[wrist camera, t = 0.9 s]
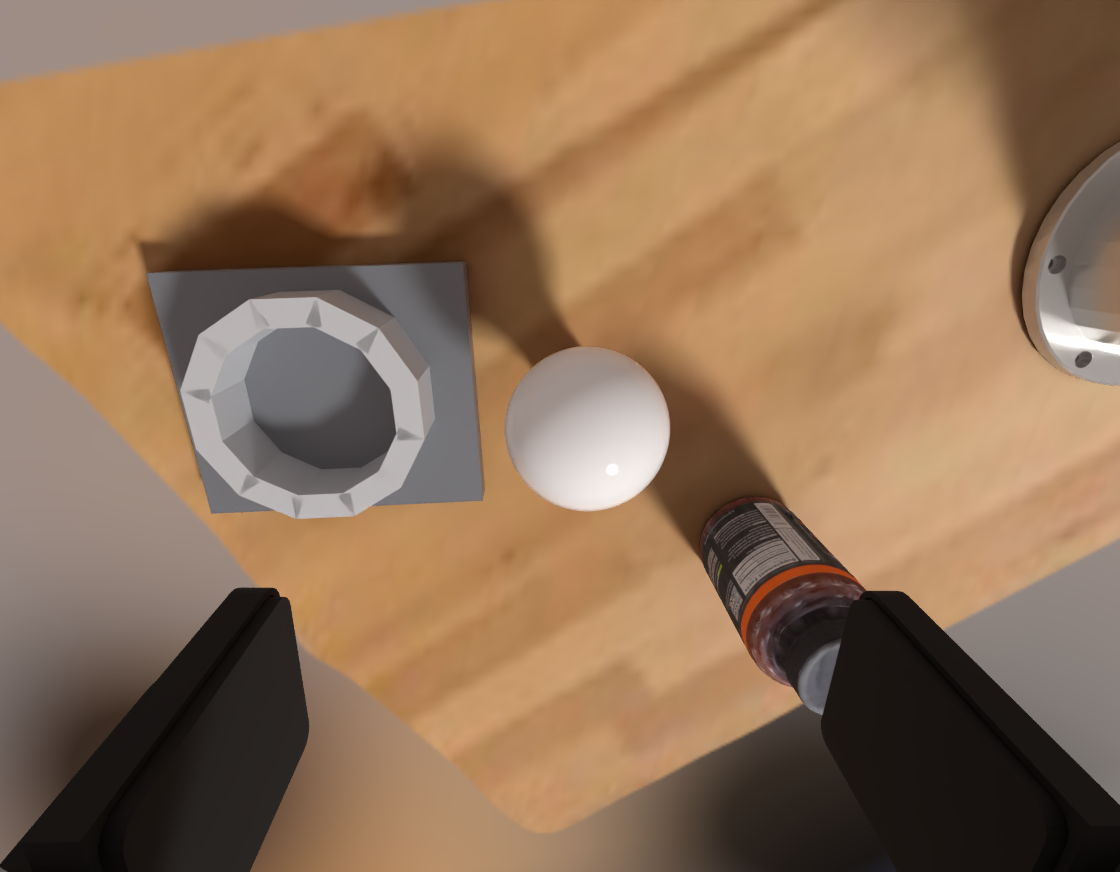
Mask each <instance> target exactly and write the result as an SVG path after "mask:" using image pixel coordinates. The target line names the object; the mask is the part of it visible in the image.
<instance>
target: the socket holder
mask: <svg viewBox="0 0 1120 872" xmlns="http://www.w3.org/2000/svg"><path fill="white" fill-rule="evenodd" d="M146 275H147V278H148V282H149V286H150V289H151V293H152V297H153V300H154V304H155V308H156V312H157V315H158V319H159V323H160V326H161V330H162V334H163V337H164V341H165V345H166V348H167V352H168V356H169V359H170V363H171V367H172V370H173V374H174V378H175V381H176V385H177V389H178V392H179V396H180V400H181V403H182V407H183V411H184V415H185V418H186V422H187V426H188V429H189V433H190V437H191V440H192V444H193V448H194V451H195V455H196V459H197V462H198V466H199V470H200V473H201V477H202V481H203V484H204V488H205V492H206V495H207V499H208V503H209V506H210V510H211V514H213V513H234V512H255V511H278V512H281V513H283V514H285V515H288V516H290V517H293V518H295V519H305V518H325V517H346V516H355V515H357V514H359V513H360V512H362V511H364V510H365V509H367V508H368V507H370V506H379V505H400V504H421V503H442V502H463V501H483V495H484V490H485V485H484V473H483V461H482V449H481V437H480V425H479V413H478V400H477V388H476V376H475V364H474V352H473V340H472V328H471V316H470V303H469V291H468V279H467V267H466V261H454V262H423V263H393V264H362V265H331V266H300V267H270V268H239V269H208V270H177V271H161V272H152V273H146Z"/></svg>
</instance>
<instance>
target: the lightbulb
mask: <svg viewBox="0 0 1120 872" xmlns="http://www.w3.org/2000/svg"><path fill="white" fill-rule="evenodd" d="M505 437H506V444H507V449H508V452H509V456H510V458H511V461H512V463H513V465H514V467H515V469H516V471H517V472H518V474H519V476H520V477H521V478H522V480H523V481H524V482H525V483H526V484H527V485H528V486H529V487H530V488H531V489H532V490H533V491H534V492H535V493H536V494H538V495H539V496H540V497H542V498H543V499H545V500H547V501H549V502H551V503H553V504H555V505H557V506H560V507H563V508H567V509H571V510H577V511H599V510H605V509H609V508H612V507H615V506H618V505H621V504H623V503H625V502H627V501H628V500H630V499H632V498H633V497H635V496H636V495H638V494H639V493H640V492H641V491H642V490H644V489H645V488H646V487H647V486H648V485H649V484H650V482H651V481H652V480H653V479H654V477H655V476H656V474H657V473H658V471H659V470H660V468H661V466H662V464H663V461H664V459H665V456H666V453H667V450H668V446H669V440H670V417H669V412H668V407H667V404H666V401H665V398H664V396H663V393H662V391H661V389H660V388H659V386H658V384H657V383H656V381H655V380H654V379H653V377H652V376H651V375H650V374H649V373H648V372H647V371H646V370H645V369H644V368H643V367H642V366H641V365H640V364H639V363H637V362H636V361H634V360H633V359H631V358H630V357H628V356H626V355H624V354H622V353H620V352H617V351H615V350H612V349H608V348H603V347H597V346H579V347H572V348H567V349H564V350H561V351H558V352H556V353H553V354H551V355H549V356H547V357H546V358H544V359H542V360H541V361H539V362H538V363H537V364H536V365H534V366H533V367H532V368H531V369H530V370H529V371H528V372H527V373H526V374H525V375H524V377H523V378H522V379H521V380H520V382H519V383H518V385H517V387H516V388H515V390H514V392H513V394H512V396H511V399H510V402H509V405H508V408H507V413H506V419H505Z"/></svg>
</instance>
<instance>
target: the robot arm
mask: <svg viewBox="0 0 1120 872" xmlns="http://www.w3.org/2000/svg"><path fill="white" fill-rule="evenodd" d="M1022 303H1023V315H1024V320H1025V323H1026V326H1027V330H1028V333H1029V336H1030V338H1031V340H1032V341H1033V343H1034V345H1035V346H1036V348H1037V350H1038V351H1039V353H1040V354H1041V355H1042V356H1043V357H1044V358H1045V359H1046V360H1047V361H1048V362H1049V363H1050V364H1051V365H1052V366H1053V367H1055V368H1057V369H1059V370H1060V371H1062V372H1064V373H1066V374H1067V375H1069V376H1073V377H1076V378H1079V379H1083V380H1086V381H1089V382H1092V383H1099V384H1105V385H1111V386H1120V142H1118V143H1117V144H1115V145H1113V146H1112V147H1110V148H1109V149H1107V150H1106V151H1104V152H1103V153H1101V154H1100V155H1099V156H1098V157H1097V158H1096V159H1095V160H1093V161H1092V162H1091V163H1090V164H1089V165H1088V166H1086V167H1085V168H1084V169H1083V170H1082V171H1081V172H1080V173H1079V174H1078V175H1077V176H1076V177H1075V178H1074V179H1073V181H1072V182H1071V183H1070V184H1069V185H1068V186H1067V187H1066V189H1065V190H1064V191H1063V192H1062V193H1061V194H1060V196H1059V197H1058V199H1057V200H1056V202H1055V203H1054V205H1053V206H1052V208H1051V209H1050V211H1049V212H1048V214H1047V216H1046V217H1045V219H1044V220H1043V222H1042V225H1041V227H1040V229H1039V231H1038V233H1037V235H1036V237H1035V240H1034V242H1033V244H1032V247H1031V250H1030V253H1029V257H1028V260H1027V264H1026V267H1025V271H1024V280H1023V289H1022ZM821 730H822V735H823V738H824V741H825V743H826V746H827V747H828V749H829V751H830V753H831V754H832V756H833V758H834V760H835V761H836V763H837V765H838V767H839V769H840V771H841V772H842V774H843V776H844V778H845V779H846V781H847V783H848V785H849V787H850V788H851V790H852V792H853V794H854V796H855V797H856V799H857V801H858V803H859V804H860V806H861V808H862V810H863V811H864V813H865V815H866V817H867V819H868V820H869V822H870V824H871V826H872V828H873V829H874V831H875V833H876V835H877V837H878V838H879V840H880V842H881V843H882V845H883V847H884V849H885V851H886V852H887V854H888V856H889V858H890V860H891V862H892V863H893V865H894V867H895V869H896V870H897V872H1120V805H1119V804H1118V803H1117V802H1116V801H1115V800H1114V799H1113V798H1112V797H1111V796H1110V795H1109V794H1108V793H1107V792H1106V791H1105V790H1104V789H1103V788H1102V787H1101V786H1100V785H1099V784H1098V783H1097V782H1096V781H1095V780H1094V779H1093V778H1092V777H1091V776H1090V775H1089V774H1088V773H1087V772H1086V771H1085V770H1084V769H1083V768H1082V767H1081V766H1080V765H1079V764H1078V763H1076V761H1075V760H1074V759H1073V758H1071V757H1070V755H1068V754H1067V753H1066V752H1065V751H1064V750H1063V749H1062V748H1061V747H1060V746H1059V745H1058V744H1057V743H1056V742H1055V741H1054V740H1053V739H1052V738H1051V737H1050V736H1049V735H1048V734H1047V733H1046V732H1045V731H1044V730H1043V729H1042V728H1041V727H1040V726H1039V725H1038V724H1037V723H1036V722H1035V721H1034V720H1033V719H1032V718H1031V717H1030V716H1029V715H1028V714H1027V713H1026V712H1025V711H1024V710H1023V709H1022V708H1021V707H1020V706H1019V705H1018V704H1017V703H1016V702H1015V701H1014V700H1013V699H1012V698H1011V697H1010V696H1009V695H1008V694H1007V693H1006V692H1004V690H1003V689H1001V687H1000V686H999V685H998V684H997V683H996V682H995V681H994V680H993V679H992V678H991V677H990V676H989V675H987V673H986V672H985V671H984V670H982V668H981V667H980V666H978V665H977V663H975V662H974V661H973V660H972V659H971V658H970V657H969V656H968V655H967V654H966V653H965V652H964V651H963V650H962V649H961V648H960V647H959V646H958V645H957V644H956V643H955V642H954V641H953V640H952V639H951V638H950V637H949V636H948V635H947V634H946V633H945V632H944V631H943V630H942V629H941V628H940V627H939V626H938V625H937V624H936V623H935V622H934V621H933V620H932V619H931V618H930V617H929V616H928V615H927V614H926V613H925V612H924V611H923V610H922V609H921V608H920V607H919V606H918V605H917V604H916V603H915V602H914V601H913V600H912V599H911V598H910V597H909V596H908V595H906V594H905V593H903V592H900V591H866V592H863V593H862V594H861V595H860V597H859V600H854V601H853V602H852V603H851V605H850V608H849V612H848V616H847V620H846V624H845V628H844V632H843V635H842V639H841V643H840V647H839V651H838V655H837V659H836V663H835V667H834V671H833V675H832V679H831V683H830V687H829V691H828V695H827V699H826V703H825V707H824V711H823V715H822V720H821ZM308 733H309V720H308V713H307V707H306V701H305V694H304V688H303V681H302V675H301V669H300V662H299V656H298V650H297V643H296V637H295V630H294V624H293V618H292V611H291V605H290V601H289V600H288V598H286V597H280V595H279V592H278V591H277V589H275V588H236V589H234V590H233V591H232V592H231V593H230V594H229V595H228V596H227V598H226V599H225V600H224V601H223V602H222V604H221V605H220V606H219V607H218V608H217V610H216V611H215V612H214V613H213V614H212V615H211V617H210V618H209V619H208V620H207V621H206V623H205V624H204V625H203V626H202V628H200V630H199V631H198V632H197V633H196V634H195V636H194V637H193V638H192V639H191V641H190V642H189V643H188V644H187V645H186V646H185V648H184V649H183V650H182V651H181V652H180V653H179V655H178V656H177V657H176V658H175V659H174V661H173V662H172V663H171V664H170V665H169V667H168V668H167V669H166V670H165V671H164V673H163V674H162V675H161V676H160V677H159V678H158V680H157V681H156V682H155V683H154V684H153V685H152V686H150V688H149V689H148V690H147V691H146V692H145V693H144V694H143V696H142V697H141V698H140V699H139V700H138V702H137V703H136V704H135V705H134V706H133V708H132V709H131V710H130V711H129V712H128V713H127V715H126V716H125V717H124V718H123V719H122V721H121V722H120V723H119V724H118V725H117V726H116V728H115V729H114V730H113V731H112V733H111V734H110V735H109V736H108V737H107V738H106V739H105V741H104V742H103V743H102V744H101V745H100V747H99V748H98V749H97V750H96V751H95V752H94V754H93V755H92V756H91V757H90V758H89V760H88V761H87V762H86V763H85V764H84V766H83V767H82V768H81V769H80V770H79V771H78V773H77V774H76V775H75V776H74V777H73V779H72V780H71V781H70V782H69V783H68V784H67V786H66V787H65V788H64V789H63V790H62V792H61V793H60V794H59V795H58V796H57V797H56V799H55V800H54V801H53V802H52V803H51V805H50V806H49V807H48V808H47V809H46V811H45V812H44V813H43V814H42V815H41V817H40V818H39V819H38V820H37V821H36V822H35V824H34V825H33V826H32V827H31V828H30V829H29V831H28V832H27V833H26V834H25V835H24V837H23V838H22V839H21V840H20V841H19V843H18V844H17V845H16V846H15V847H14V849H13V850H12V851H11V852H10V853H9V854H8V855H7V857H6V858H5V859H4V860H3V861H2V863H1V864H0V872H250V869H251V868H252V865H253V863H254V861H255V859H256V856H257V854H258V852H259V849H260V847H261V845H262V843H263V841H264V838H265V836H266V834H267V832H268V830H269V827H270V825H271V823H272V821H273V818H274V816H275V814H276V812H277V809H278V807H279V805H280V803H281V800H282V798H283V796H284V793H285V791H286V789H287V787H288V784H289V782H290V780H291V778H292V776H293V774H294V771H295V769H296V766H297V764H298V762H299V760H300V758H301V756H302V753H303V751H304V748H305V746H306V743H307V739H308Z"/></svg>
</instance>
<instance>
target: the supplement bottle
mask: <svg viewBox="0 0 1120 872" xmlns="http://www.w3.org/2000/svg"><path fill="white" fill-rule="evenodd" d="M700 556H701V560H702V563H703V565H704V568H705V570H706V572H707V574H708V576H709V577H710V579H711V581H712V583H713V585H714V587H715V589H716V591H717V593H718V595H719V597H720V599H721V600H722V602H723V605H724V606H725V608H726V610H727V612H728V614H729V616H730V618H731V620H732V621H733V624H734V625H735V627H736V629H737V631H738V633H739V635H740V637H741V639H742V641H743V643H744V644H745V646H746V648H747V650H748V652H749V654H750V656H751V657H752V659H753V660H754V662H755V663H756V664H757V666H758V667H759V668H760V669H761V671H763V672H764V673H765V674H766V675H767V676H769V677H770V678H772V679H773V680H775V681H776V682H778V683H780V684H783V685H786V686H789V687H793V688H794V689H795V691H796V692H797V694H798V696H799V697H800V699H801V701H802V702H803V703H804V704H805V705H806V706H807V707H808V708H809V709H810V710H812V711H814V712H816V713H818V714H821V715H823V711H824V707H825V703H826V699H827V695H828V691H829V687H830V683H831V679H832V675H833V671H834V667H835V663H836V659H837V655H838V651H839V647H840V643H841V639H842V635H843V632H844V628H845V624H846V620H847V616H848V612H849V608H850V605H851V603H852V602H853V601H854V600H859V597H860V595H861V594H862V593H863V592H866V590H865V589H864V587H862V586H861V584H860V583H859V582H858V581H857V580H856V578H855V577H854V576H853V575H852V574H850V573H849V572H848V570H847V569H846V568H845V567H844V566H843V565H842V564H841V563H840V562H839V561H838V560H837V559H836V558H835V557H834V556H833V555H832V554H831V553H830V552H829V551H828V549H827V548H826V547H825V546H824V545H823V544H822V543H821V542H820V541H819V540H818V539H817V538H816V537H815V536H814V535H813V533H812V532H811V531H810V530H809V529H808V528H807V527H806V526H805V525H804V524H803V523H802V522H801V520H800V519H798V518H797V517H796V516H795V515H794V514H793V513H792V512H791V511H790V510H789V509H788V508H786V507H785V506H784V505H782V504H781V503H779V502H777V501H776V500H773V499H769V498H765V497H746V498H741V499H737V500H735V501H732V502H731V503H728V504H726V505H725V506H723V507H722V508H720V509H719V510H718V511H716V512H715V513H714V514H713V515H712V516H711V517H710V519H709V520H708V522H707V523H706V525H705V527H704V529H703V531H702V534H701V537H700Z"/></svg>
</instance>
